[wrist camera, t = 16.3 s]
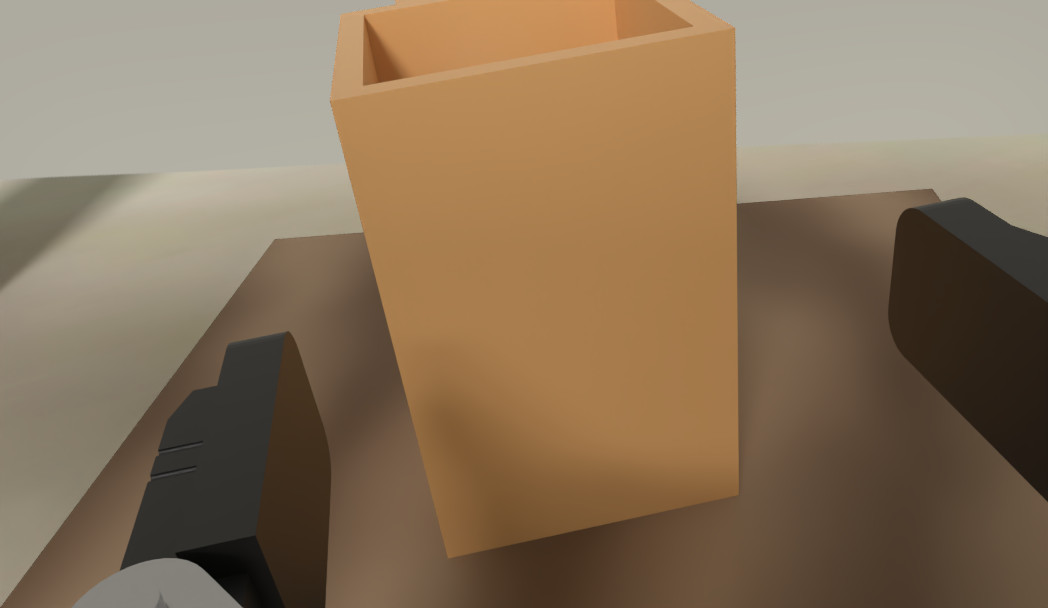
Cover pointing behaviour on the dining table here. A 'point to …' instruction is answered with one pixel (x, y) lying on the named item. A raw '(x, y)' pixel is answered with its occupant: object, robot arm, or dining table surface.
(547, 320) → the open-top tan box
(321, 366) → the mount board
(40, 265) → the dining table surface
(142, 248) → the dining table surface
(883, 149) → the dining table surface
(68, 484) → the dining table surface
